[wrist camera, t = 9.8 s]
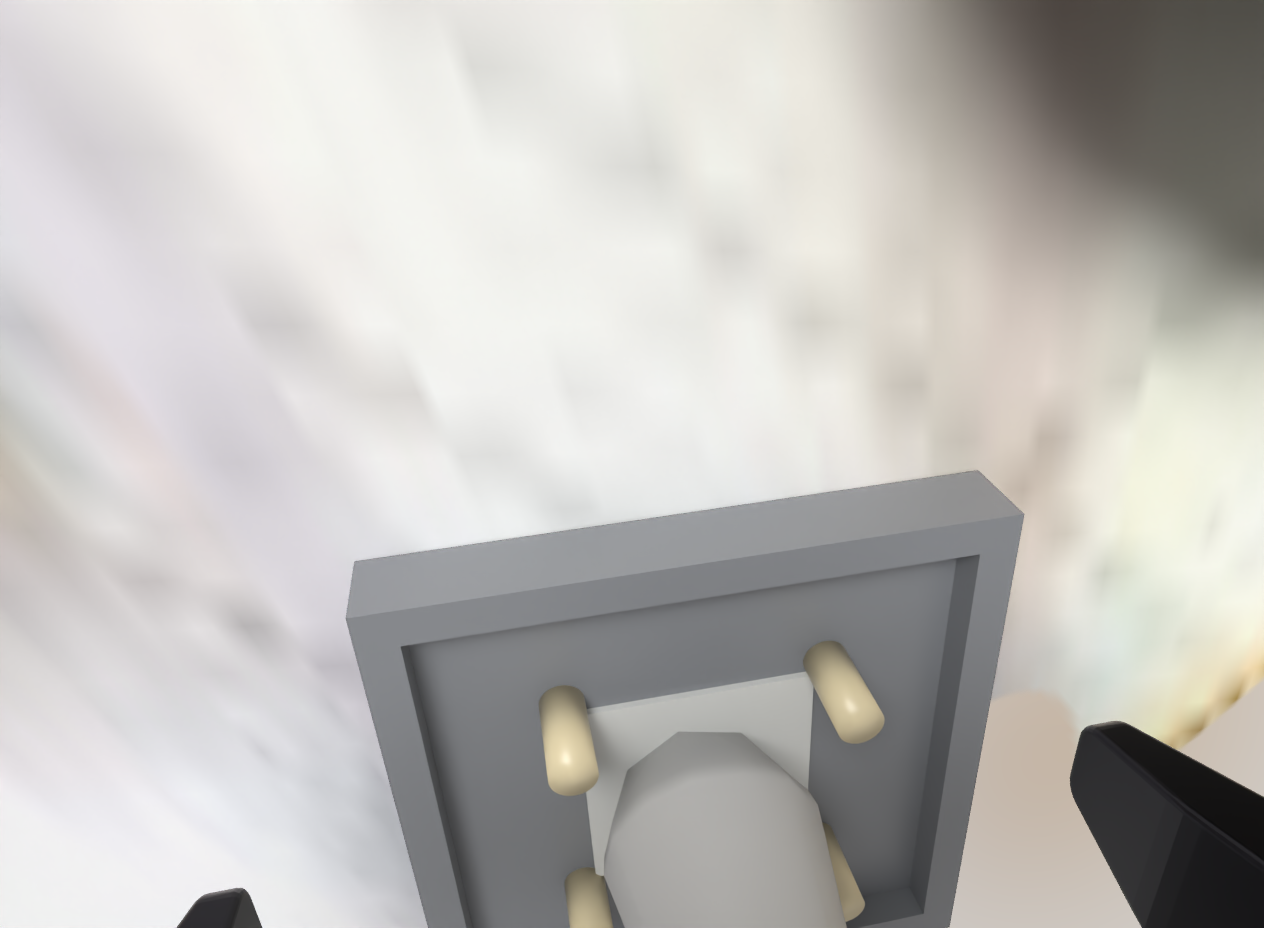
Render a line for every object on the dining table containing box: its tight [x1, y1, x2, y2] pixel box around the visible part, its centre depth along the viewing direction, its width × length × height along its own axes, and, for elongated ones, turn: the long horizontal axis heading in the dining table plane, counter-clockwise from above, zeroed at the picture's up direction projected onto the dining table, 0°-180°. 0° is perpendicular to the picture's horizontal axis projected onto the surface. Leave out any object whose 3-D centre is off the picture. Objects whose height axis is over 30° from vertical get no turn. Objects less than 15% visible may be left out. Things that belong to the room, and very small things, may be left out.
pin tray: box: [346, 471, 1024, 928], centre depth 25 cm, size 16×16×4 cm
